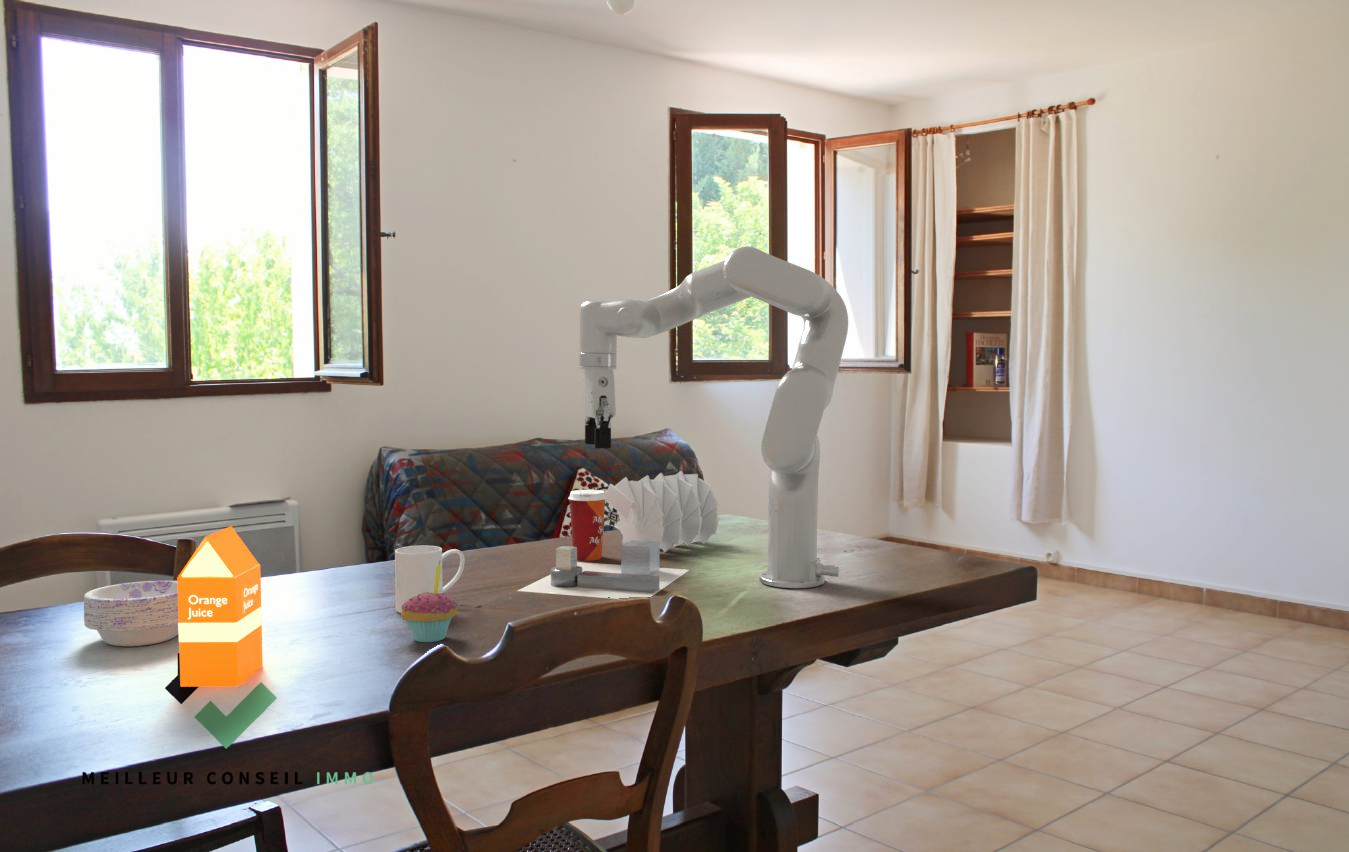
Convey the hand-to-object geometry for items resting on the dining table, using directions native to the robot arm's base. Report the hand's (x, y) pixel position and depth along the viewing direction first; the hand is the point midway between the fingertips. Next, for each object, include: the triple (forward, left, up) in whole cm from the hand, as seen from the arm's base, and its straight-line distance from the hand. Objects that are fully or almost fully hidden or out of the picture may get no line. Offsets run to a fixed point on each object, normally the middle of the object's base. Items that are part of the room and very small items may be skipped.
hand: (597, 446), depth 205 cm
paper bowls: (+48, +70, -26) cm, 88 cm away
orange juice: (+23, +81, -26) cm, 88 cm away
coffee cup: (+6, -8, -26) cm, 28 cm away
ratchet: (-8, +17, -25) cm, 31 cm away
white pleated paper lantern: (-6, -26, -26) cm, 37 cm away
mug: (+16, +39, -26) cm, 49 cm away
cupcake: (+6, +56, -26) cm, 62 cm away
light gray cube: (-10, +3, -25) cm, 27 cm away
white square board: (-6, +11, -26) cm, 28 cm away
